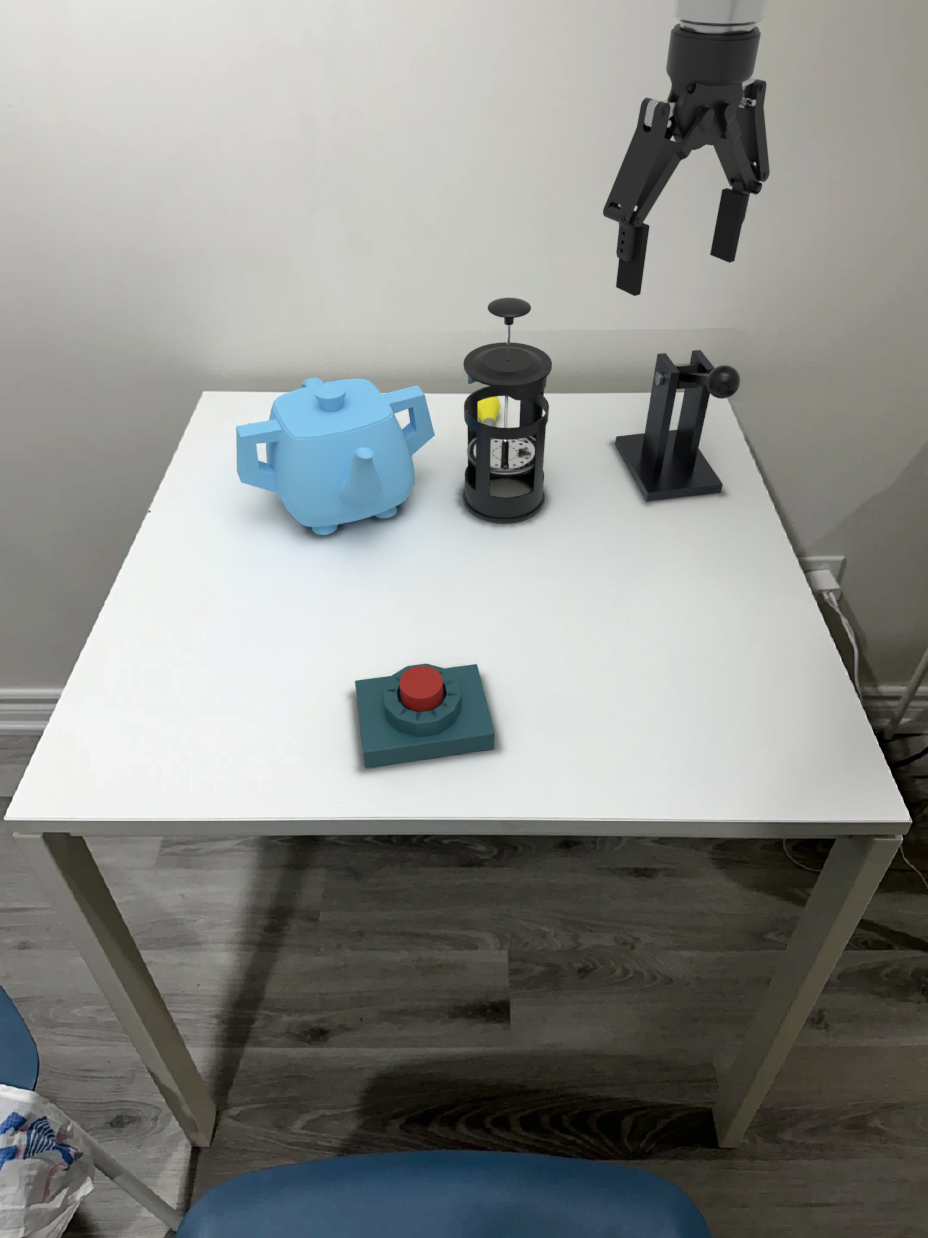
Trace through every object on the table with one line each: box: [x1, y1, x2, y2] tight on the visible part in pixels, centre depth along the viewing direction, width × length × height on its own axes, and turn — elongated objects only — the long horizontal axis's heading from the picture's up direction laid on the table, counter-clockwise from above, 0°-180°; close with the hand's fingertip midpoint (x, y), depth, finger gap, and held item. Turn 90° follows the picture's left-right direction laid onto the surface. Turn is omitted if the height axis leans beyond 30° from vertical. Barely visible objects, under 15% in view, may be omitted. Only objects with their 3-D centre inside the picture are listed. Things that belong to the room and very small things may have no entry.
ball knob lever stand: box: [614, 349, 724, 502], centre depth 97 cm, size 12×9×14 cm
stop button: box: [400, 666, 443, 712], centre depth 71 cm, size 4×4×2 cm
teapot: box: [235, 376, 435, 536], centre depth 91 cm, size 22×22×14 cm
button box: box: [354, 663, 496, 769], centre depth 73 cm, size 8×11×4 cm
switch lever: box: [674, 362, 741, 400], centre depth 88 cm, size 13×3×3 cm, turn 10°
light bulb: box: [478, 396, 502, 427], centre depth 108 cm, size 3×6×4 cm, turn 4°
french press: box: [462, 297, 553, 524], centre depth 90 cm, size 12×9×23 cm
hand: (676, 274), depth 87 cm, fingers open, 13 cm apart
